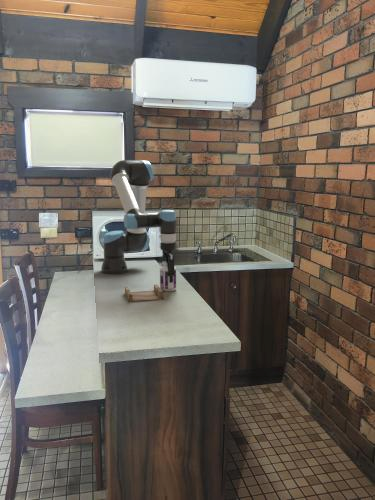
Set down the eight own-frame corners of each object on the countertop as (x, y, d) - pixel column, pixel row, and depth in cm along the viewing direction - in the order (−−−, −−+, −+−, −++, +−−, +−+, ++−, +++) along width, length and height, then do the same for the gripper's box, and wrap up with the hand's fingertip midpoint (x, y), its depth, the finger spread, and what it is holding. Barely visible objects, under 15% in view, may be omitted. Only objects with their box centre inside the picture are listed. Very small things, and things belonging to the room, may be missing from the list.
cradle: (124, 293, 206) (124, 286, 206) (156, 291, 211) (156, 284, 210) (129, 302, 193) (129, 295, 192) (163, 299, 198) (163, 292, 197)
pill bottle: (178, 288, 215) (178, 261, 213) (171, 293, 208) (171, 264, 205) (164, 286, 219) (164, 259, 216) (157, 290, 212) (157, 262, 209)
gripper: (155, 238, 218) (155, 280, 222) (166, 246, 197) (166, 292, 201) (169, 237, 220) (169, 279, 225) (181, 245, 199) (181, 291, 204)
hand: (168, 285), depth 213 cm, fingers open, 10 cm apart
